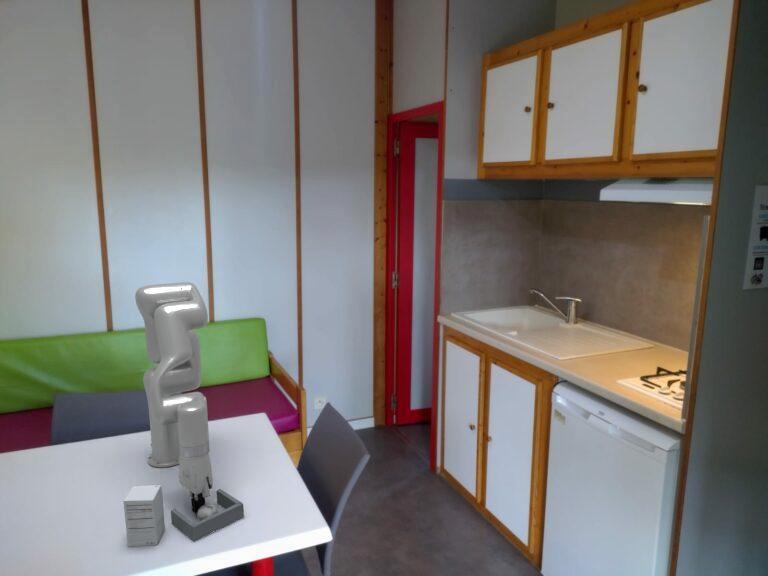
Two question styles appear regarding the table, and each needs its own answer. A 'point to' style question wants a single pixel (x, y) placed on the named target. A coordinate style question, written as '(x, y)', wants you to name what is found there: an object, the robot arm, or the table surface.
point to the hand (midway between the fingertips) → (198, 510)
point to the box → (212, 523)
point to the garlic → (206, 511)
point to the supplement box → (144, 515)
